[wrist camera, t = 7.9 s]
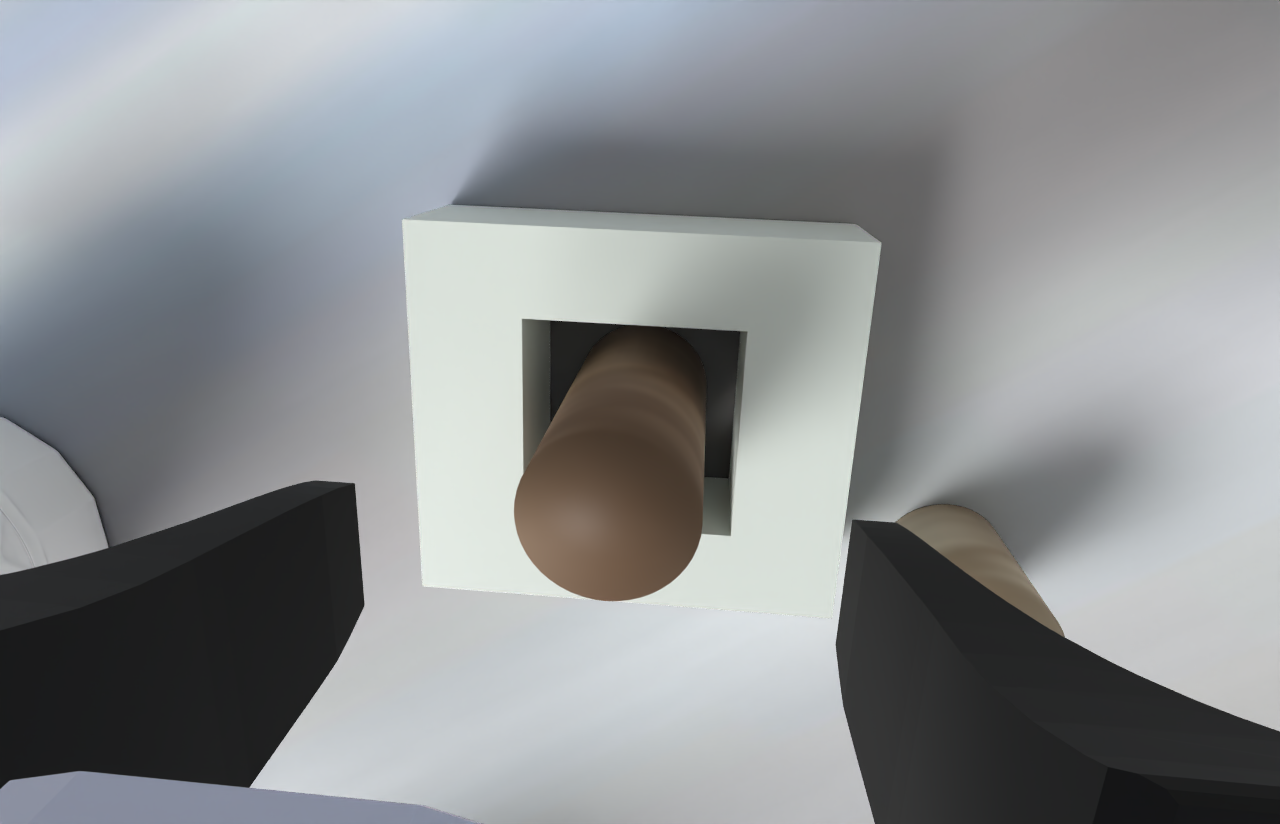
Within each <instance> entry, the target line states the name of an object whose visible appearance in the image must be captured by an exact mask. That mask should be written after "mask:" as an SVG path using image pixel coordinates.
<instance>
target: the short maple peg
mask: <svg viewBox="0 0 1280 824" xmlns="http://www.w3.org/2000/svg"><path fill="white" fill-rule="evenodd" d="M895 523H898V524H900V525H901V526H903V527H905V528H906V529H908V530H909V531H911V532H912V533H914V534H915V535H916V536H918V537H919V538H921V539H922V540H923V541H925V542H926V543H927V544H929V545H930V546H931V547H933V548H934V549H935V550H936V551H938V552H939V553H940V554H942V555H943V556H944V557H946V558H947V559H948V560H950V561H951V562H952V563H954V564H955V565H956V566H958V567H959V568H960V569H962V570H963V571H964V572H966V573H967V574H968V575H970V576H971V577H973V578H974V579H975V580H977V581H978V582H979V583H981V584H982V585H984V586H985V587H986V588H988V589H989V590H991V591H992V592H994V593H995V594H997V595H998V596H999V597H1001V598H1002V599H1004V600H1005V601H1007V602H1008V603H1010V604H1011V605H1013V606H1015V607H1016V608H1018V609H1019V610H1021V611H1022V612H1024V613H1025V614H1027V615H1029V616H1030V617H1032V618H1033V619H1035V620H1036V621H1038V622H1039V623H1041V624H1043V625H1044V626H1046V627H1048V628H1049V629H1051V630H1053V631H1054V632H1056V633H1058V634H1060V635H1061V636H1063V637H1065V636H1064V633H1063V630H1062V628H1061V627H1060V625H1059V623H1058V621H1057V620H1056V618H1055V617H1054V616H1053V614H1052V613H1051V611H1050V610H1049V608H1048V607H1047V605H1046V604H1045V602H1044V601H1043V599H1042V598H1041V597H1040V595H1039V594H1038V592H1037V591H1036V589H1035V588H1034V586H1033V585H1032V583H1031V582H1030V580H1029V579H1028V578H1027V576H1026V575H1025V573H1024V572H1023V570H1022V569H1021V567H1020V566H1019V564H1018V563H1017V561H1016V560H1015V559H1014V557H1013V556H1012V554H1011V553H1010V551H1009V550H1008V548H1007V547H1006V545H1005V544H1004V542H1003V541H1002V539H1001V538H1000V537H999V535H998V534H997V532H996V531H995V529H994V528H993V527H992V525H991V524H990V523H989V522H988V521H987V520H986V519H985V518H984V517H982V516H981V515H980V514H978V513H976V512H974V511H972V510H970V509H967V508H965V507H961V506H957V505H950V504H938V505H930V506H926V507H922V508H919V509H916V510H914V511H912V512H910V513H908V514H906V515H905V516H903V517H901V518H900V519H899V520H898V521H896V522H895Z"/></svg>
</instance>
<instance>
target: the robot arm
mask: <svg viewBox="0 0 1280 824" xmlns="http://www.w3.org/2000/svg"><path fill="white" fill-rule="evenodd" d="M363 607H364V593H363V581H362V568H361V556H360V543H359V531H358V518H357V506H356V493H355V483H342V482H328V481H310V482H304V483H300V484H296V485H292V486H289V487H286V488H282V489H279V490H276V491H273V492H270V493H267V494H264V495H261V496H258V497H256V498H253V499H250V500H247V501H244V502H242V503H239V504H236V505H233V506H231V507H228V508H225V509H222V510H219V511H217V512H214V513H211V514H208V515H206V516H203V517H200V518H197V519H195V520H192V521H189V522H186V523H183V524H180V525H177V526H174V527H171V528H168V529H165V530H162V531H159V532H156V533H153V534H150V535H147V536H144V537H141V538H138V539H135V540H132V541H129V542H126V543H123V544H120V545H116V546H113V547H110V548H106V549H103V550H100V551H96V552H92V553H89V554H85V555H82V556H78V557H74V558H71V559H67V560H63V561H59V562H55V563H51V564H47V565H43V566H39V567H35V568H31V569H26V570H22V571H18V572H13V573H8V574H3V575H0V824H482V823H479V822H475V821H472V820H469V819H466V818H463V817H459V816H456V815H453V814H450V813H447V812H443V811H440V810H437V809H434V808H431V807H427V806H424V805H415V804H405V803H395V802H385V801H375V800H365V799H355V798H345V797H335V796H325V795H315V794H305V793H296V792H286V791H276V790H266V789H256V788H249V787H250V786H251V784H252V783H253V781H254V780H255V779H256V777H257V776H258V774H259V773H260V772H261V770H262V769H263V767H264V766H265V764H266V763H267V762H268V760H269V759H270V757H271V756H272V754H273V753H274V752H275V750H276V749H277V747H278V746H279V744H280V743H281V742H282V740H283V739H284V737H285V736H286V735H287V733H288V732H289V730H290V729H291V727H292V726H293V725H294V723H295V722H296V720H297V719H298V717H299V716H300V715H301V713H302V712H303V710H304V709H305V708H306V706H307V705H308V703H309V702H310V700H311V699H312V697H313V696H314V695H315V693H316V692H317V690H318V689H319V687H320V686H321V684H322V683H323V681H324V680H325V679H326V677H327V676H328V674H329V673H330V671H331V670H332V668H333V667H334V665H335V664H336V662H337V660H338V658H339V657H340V655H341V653H342V651H343V649H344V647H345V645H346V643H347V641H348V639H349V637H350V635H351V633H352V631H353V629H354V627H355V625H356V622H357V620H358V618H359V616H360V614H361V612H362V610H363ZM836 652H837V661H838V669H839V678H840V685H841V693H842V700H843V707H844V710H845V714H846V718H847V722H848V726H849V730H850V733H851V737H852V741H853V745H854V748H855V752H856V756H857V760H858V763H859V767H860V770H861V774H862V778H863V781H864V785H865V789H866V792H867V796H868V800H869V803H870V807H871V811H872V814H873V818H874V822H875V824H1280V732H1279V731H1277V730H1274V729H1271V728H1268V727H1265V726H1262V725H1259V724H1257V723H1254V722H1251V721H1248V720H1245V719H1242V718H1239V717H1237V716H1234V715H1232V714H1229V713H1227V712H1224V711H1221V710H1219V709H1216V708H1214V707H1211V706H1208V705H1206V704H1203V703H1201V702H1198V701H1196V700H1193V699H1191V698H1189V697H1186V696H1184V695H1182V694H1180V693H1177V692H1175V691H1173V690H1170V689H1168V688H1166V687H1164V686H1161V685H1159V684H1157V683H1154V682H1152V681H1150V680H1148V679H1145V678H1143V677H1141V676H1139V675H1136V674H1134V673H1132V672H1130V671H1128V670H1126V669H1124V668H1122V667H1120V666H1118V665H1116V664H1114V663H1112V662H1110V661H1108V660H1106V659H1104V658H1102V657H1100V656H1098V655H1096V654H1095V653H1093V652H1091V651H1089V650H1087V649H1085V648H1083V647H1082V646H1080V645H1078V644H1076V643H1074V642H1072V641H1070V640H1068V639H1067V638H1065V637H1063V636H1061V635H1060V634H1058V633H1056V632H1054V631H1053V630H1051V629H1049V628H1048V627H1046V626H1044V625H1043V624H1041V623H1039V622H1038V621H1036V620H1035V619H1033V618H1032V617H1030V616H1029V615H1027V614H1025V613H1024V612H1022V611H1021V610H1019V609H1018V608H1016V607H1015V606H1013V605H1011V604H1010V603H1008V602H1007V601H1005V600H1004V599H1002V598H1001V597H999V596H998V595H997V594H995V593H994V592H992V591H991V590H989V589H988V588H986V587H985V586H984V585H982V584H981V583H979V582H978V581H977V580H975V579H974V578H973V577H971V576H970V575H968V574H967V573H966V572H964V571H963V570H962V569H960V568H959V567H958V566H956V565H955V564H954V563H952V562H951V561H950V560H948V559H947V558H946V557H944V556H943V555H942V554H940V553H939V552H938V551H936V550H935V549H934V548H933V547H931V546H930V545H929V544H927V543H926V542H925V541H923V540H922V539H921V538H919V537H918V536H916V535H915V534H914V533H912V532H911V531H909V530H908V529H906V528H905V527H903V526H901V525H900V524H898V523H892V522H878V521H864V520H852V526H851V534H850V541H849V549H848V556H847V564H846V571H845V579H844V586H843V594H842V601H841V609H840V616H839V624H838V631H837V639H836Z"/></svg>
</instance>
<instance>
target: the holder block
mask: <svg viewBox="0 0 1280 824" xmlns="http://www.w3.org/2000/svg"><path fill="white" fill-rule="evenodd" d="M402 229H403V247H404V265H405V283H406V301H407V319H408V337H409V355H410V372H411V390H412V408H413V426H414V444H415V462H416V480H417V498H418V516H419V534H420V552H421V570H422V586H425V587H438V588H451V589H463V590H476V591H488V592H501V593H513V594H526V595H538V596H551V597H564V598H576V599H589V600H594V599H590V598H586V597H582V596H579V595H577V594H574V593H571V592H569V591H567V590H565V589H563V588H562V587H560V586H558V585H557V584H555V583H554V582H552V581H551V580H549V579H548V578H547V577H546V576H545V575H544V574H542V573H541V572H540V571H539V570H538V568H537V567H536V566H535V565H534V564H533V563H532V561H531V560H530V559H529V557H528V556H527V554H526V552H525V551H524V549H523V547H522V545H521V542H520V540H519V537H518V534H517V531H516V526H515V520H514V500H515V496H516V491H517V488H518V485H519V482H520V479H521V477H522V476H523V474H524V472H525V470H526V468H527V466H528V464H529V463H530V461H531V459H532V457H533V455H534V453H535V452H536V450H537V448H538V446H539V444H540V442H541V440H542V439H543V437H544V435H545V433H546V431H547V429H548V428H549V426H550V320H554V321H572V322H589V323H607V324H624V325H642V326H660V327H677V328H695V329H713V330H730V331H740V343H739V355H738V368H737V381H736V393H735V406H734V419H733V431H732V444H731V456H730V469H729V479H728V478H713V477H704V494H703V526H702V533H701V538H700V542H699V545H698V548H697V550H696V552H695V554H694V556H693V558H692V560H691V561H690V563H689V564H688V566H687V567H686V568H685V570H684V571H683V572H682V573H681V574H680V575H679V576H678V577H677V578H676V579H675V580H673V581H672V582H671V583H670V584H668V585H667V586H665V587H664V588H662V589H660V590H658V591H656V592H654V593H652V594H650V595H647V596H644V597H641V598H637V599H632V600H625V601H614V602H626V603H639V604H652V605H664V606H677V607H689V608H702V609H714V610H727V611H740V612H752V613H765V614H777V615H790V616H802V617H815V618H828V619H832V615H833V608H834V600H835V593H836V585H837V577H838V570H839V562H840V555H841V547H842V539H843V532H844V524H845V517H846V509H847V502H848V494H849V486H850V479H851V471H852V464H853V456H854V448H855V441H856V433H857V426H858V418H859V410H860V403H861V395H862V388H863V380H864V373H865V365H866V357H867V350H868V342H869V335H870V327H871V319H872V312H873V304H874V297H875V289H876V282H877V274H878V266H879V259H880V251H881V244H882V243H881V242H880V241H878V240H877V239H876V238H874V237H873V236H872V235H870V234H869V233H867V232H866V231H865V230H863V229H862V228H861V227H859V226H858V225H857V224H847V223H826V222H805V221H784V220H763V219H741V218H720V217H699V216H678V215H657V214H636V213H615V212H594V211H573V210H552V209H531V208H510V207H489V206H468V205H446V206H443V207H440V208H437V209H434V210H430V211H427V212H424V213H421V214H418V215H414V216H411V217H408V218H405V219H402ZM601 601H602V600H601Z"/></svg>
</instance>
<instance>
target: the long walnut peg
mask: <svg viewBox="0 0 1280 824" xmlns="http://www.w3.org/2000/svg"><path fill="white" fill-rule="evenodd" d="M706 395H707V381H706V374H705V370H704V367H703V364H702V362H701V360H700V358H699V356H698V354H697V353H696V351H695V350H694V349H693V348H692V346H691V345H690V344H689V343H688V342H687V341H686V340H685V339H683V338H682V337H681V336H679V335H678V334H676V333H674V332H673V331H671V330H668V329H666V328H663V327H660V326H642V325H628V326H624V327H621V328H618V329H616V330H614V331H612V332H610V333H608V334H607V335H605V336H604V337H603V338H601V339H600V340H599V341H598V342H597V343H596V344H595V345H594V346H593V348H592V349H591V351H590V352H589V354H588V355H587V357H586V359H585V361H584V363H583V365H582V367H581V368H580V370H579V372H578V374H577V376H576V378H575V379H574V381H573V383H572V385H571V387H570V389H569V391H568V392H567V394H566V396H565V398H564V400H563V402H562V404H561V405H560V407H559V409H558V411H557V413H556V415H555V416H554V418H553V420H552V422H551V424H550V426H549V428H548V429H547V431H546V433H545V435H544V437H543V439H542V440H541V442H540V444H539V446H538V448H537V450H536V452H535V453H534V455H533V457H532V459H531V461H530V463H529V464H528V466H527V468H526V470H525V472H524V474H523V476H522V477H521V479H520V482H519V485H518V488H517V491H516V496H515V500H514V520H515V526H516V531H517V534H518V537H519V540H520V542H521V545H522V547H523V549H524V551H525V552H526V554H527V556H528V557H529V559H530V560H531V561H532V563H533V564H534V565H535V566H536V567H537V568H538V570H539V571H540V572H541V573H542V574H544V575H545V576H546V577H547V578H548V579H549V580H551V581H552V582H554V583H555V584H557V585H558V586H560V587H562V588H563V589H565V590H567V591H569V592H571V593H574V594H577V595H579V596H582V597H586V598H590V599H594V600H602V601H625V600H632V599H637V598H641V597H644V596H647V595H650V594H652V593H654V592H656V591H658V590H660V589H662V588H664V587H665V586H667V585H668V584H670V583H671V582H672V581H673V580H675V579H676V578H677V577H678V576H679V575H680V574H681V573H682V572H683V571H684V570H685V568H686V567H687V566H688V564H689V563H690V561H691V560H692V558H693V556H694V554H695V552H696V550H697V548H698V545H699V542H700V538H701V533H702V526H703V494H704V461H705V428H706Z"/></svg>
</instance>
